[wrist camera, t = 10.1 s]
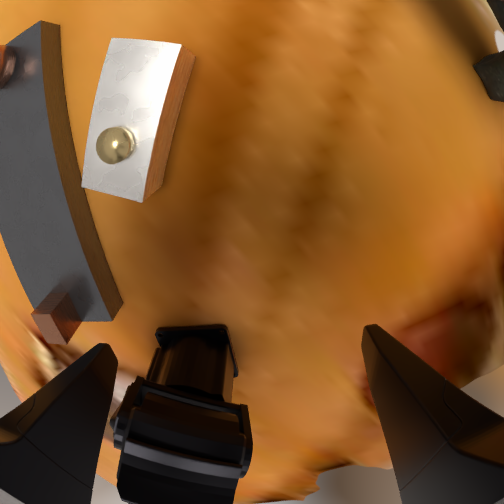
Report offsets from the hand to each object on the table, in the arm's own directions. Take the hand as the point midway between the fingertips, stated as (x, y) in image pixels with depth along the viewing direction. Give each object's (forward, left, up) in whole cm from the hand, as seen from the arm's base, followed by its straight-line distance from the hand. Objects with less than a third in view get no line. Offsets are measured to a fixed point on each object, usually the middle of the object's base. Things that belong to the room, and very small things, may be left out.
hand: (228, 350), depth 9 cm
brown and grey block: (+5, -8, -12) cm, 16 cm away
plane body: (+16, -6, -12) cm, 21 cm away
